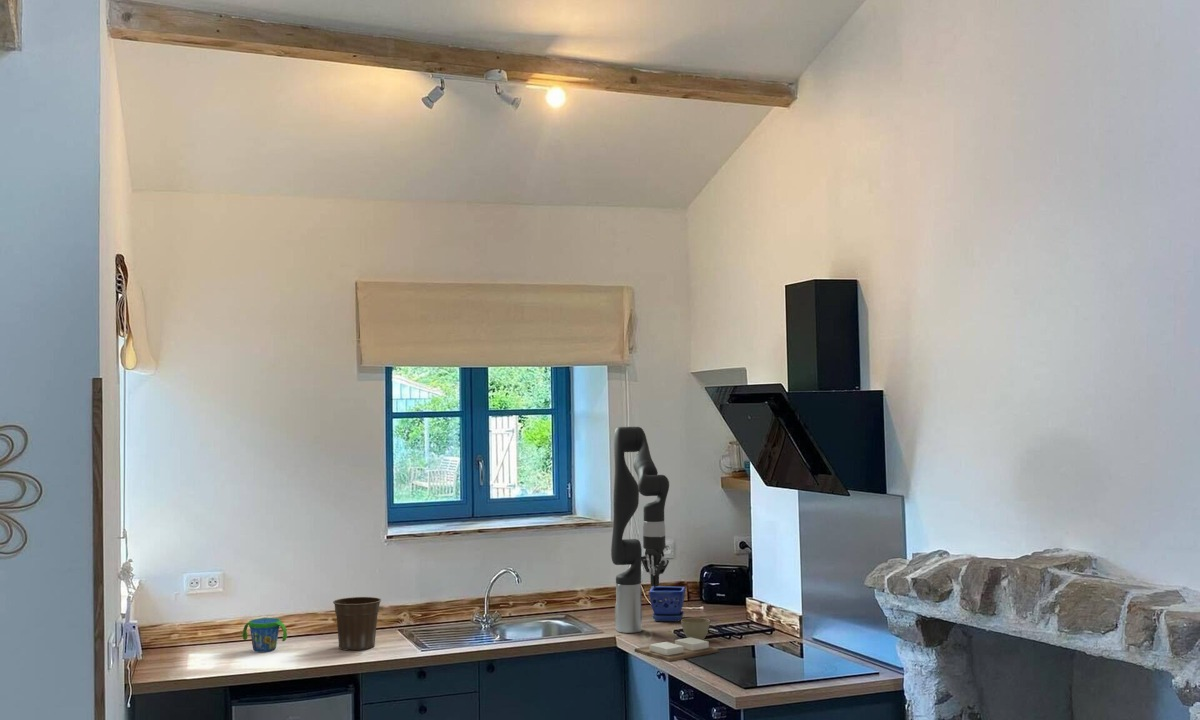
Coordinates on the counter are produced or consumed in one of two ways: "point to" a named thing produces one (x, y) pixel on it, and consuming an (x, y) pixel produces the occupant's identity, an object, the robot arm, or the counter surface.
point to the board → (673, 657)
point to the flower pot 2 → (695, 627)
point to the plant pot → (357, 622)
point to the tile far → (692, 643)
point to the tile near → (666, 648)
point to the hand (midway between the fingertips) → (654, 586)
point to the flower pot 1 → (667, 602)
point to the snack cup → (264, 633)
